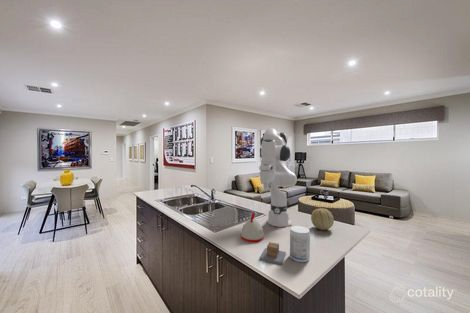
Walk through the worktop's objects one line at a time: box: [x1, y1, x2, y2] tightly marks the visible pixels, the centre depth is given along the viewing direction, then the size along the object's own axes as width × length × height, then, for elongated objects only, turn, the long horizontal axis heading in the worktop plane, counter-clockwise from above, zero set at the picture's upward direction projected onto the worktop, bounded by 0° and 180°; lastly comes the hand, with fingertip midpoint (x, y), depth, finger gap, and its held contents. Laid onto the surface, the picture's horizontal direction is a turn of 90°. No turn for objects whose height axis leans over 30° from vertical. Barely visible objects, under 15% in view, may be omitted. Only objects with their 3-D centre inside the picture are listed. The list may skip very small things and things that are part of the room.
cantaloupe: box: [310, 206, 335, 231], centre depth 141 cm, size 15×15×15 cm
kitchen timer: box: [240, 212, 264, 243], centre depth 125 cm, size 14×14×15 cm
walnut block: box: [266, 241, 280, 258], centre depth 102 cm, size 5×5×5 cm
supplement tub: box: [289, 225, 311, 263], centre depth 101 cm, size 10×10×15 cm
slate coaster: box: [259, 247, 287, 266], centre depth 102 cm, size 11×11×1 cm
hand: (268, 189), depth 119 cm, fingers open, 8 cm apart
